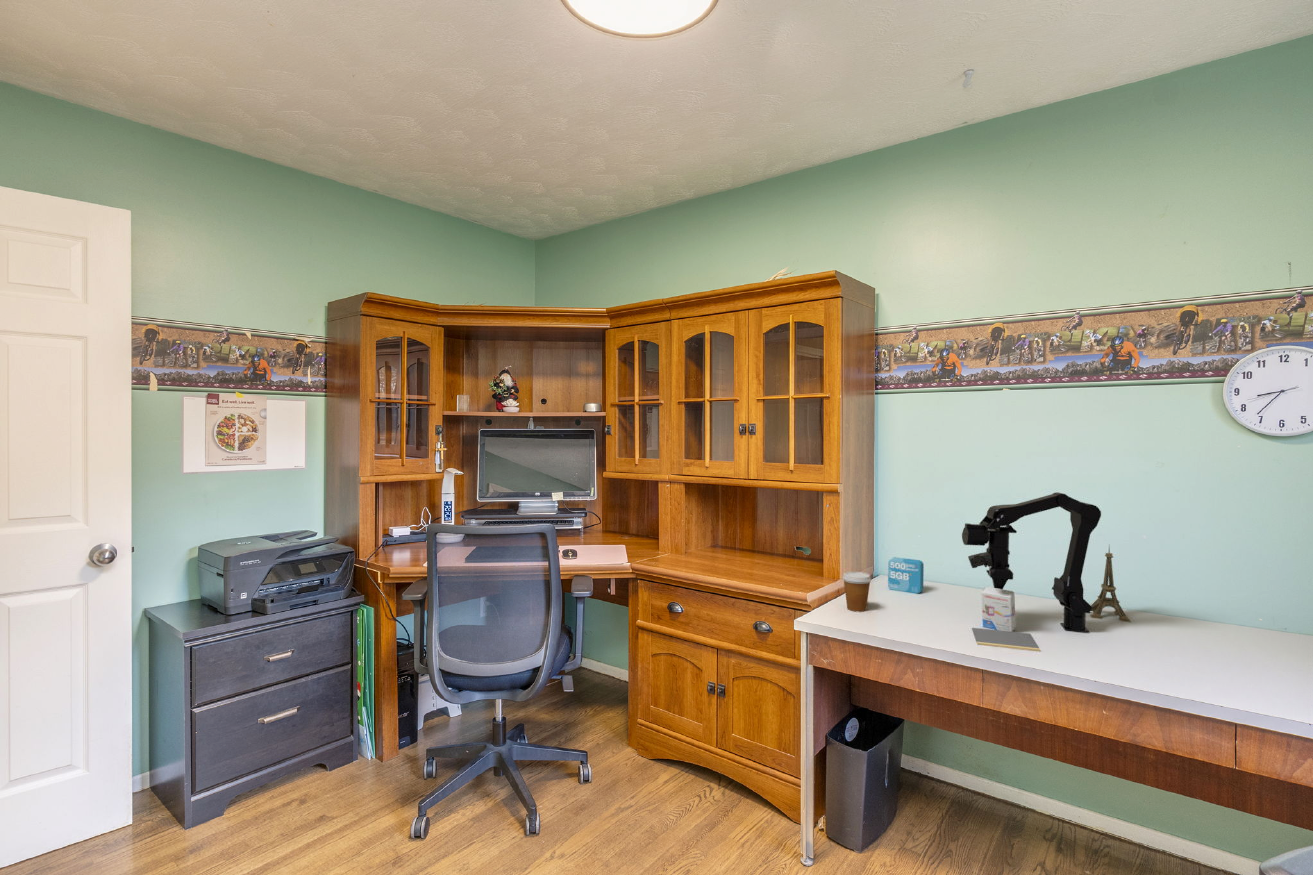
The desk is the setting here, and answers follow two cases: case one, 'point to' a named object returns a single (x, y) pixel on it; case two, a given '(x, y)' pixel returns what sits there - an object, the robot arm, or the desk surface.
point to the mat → (1005, 639)
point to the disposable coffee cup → (856, 590)
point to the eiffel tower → (1102, 598)
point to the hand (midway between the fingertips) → (997, 595)
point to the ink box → (998, 609)
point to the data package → (905, 575)
